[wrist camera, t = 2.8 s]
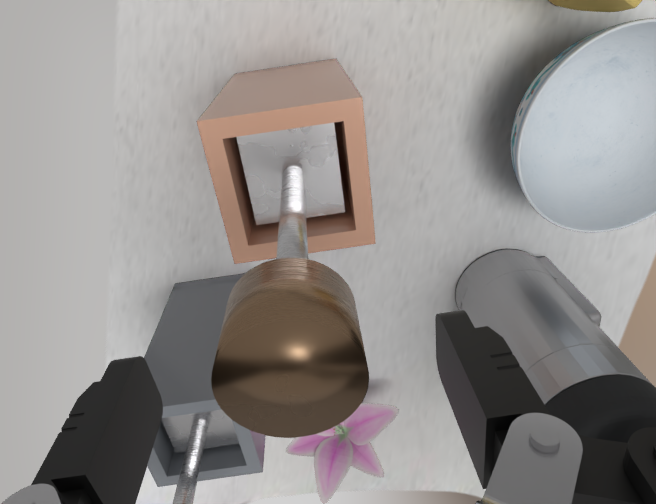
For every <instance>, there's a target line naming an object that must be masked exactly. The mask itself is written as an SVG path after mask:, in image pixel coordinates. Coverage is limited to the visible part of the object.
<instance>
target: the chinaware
mask: <svg viewBox="0 0 656 504" xmlns="http://www.w3.org/2000/svg"><path fill="white" fill-rule="evenodd" d="M511 158H512V164H513V168H514V172H515V175H516V178H517V181H518V184H519V186H520V188H521V190H522V192H523V194H524V196H525V197H526V199H527V200H528V202H529V203H530V205H531V206H532V207H533V208H534V209H535V210H536V211H537V212H538V213H539V214H540V215H541V216H542V217H543V218H545V219H546V220H548V221H549V222H551V223H553V224H555V225H557V226H559V227H562V228H565V229H568V230H572V231H577V232H589V233H594V232H606V231H612V230H616V229H620V228H624V227H627V226H630V225H633V224H635V223H638V222H640V221H642V220H644V219H647V218H648V217H650V216H652V215H654V214H656V18H649V19H641V20H635V21H630V22H626V23H622V24H618V25H615V26H612V27H609V28H606V29H603V30H601V31H599V32H596V33H594V34H592V35H590V36H588V37H586V38H584V39H582V40H580V41H578V42H576V43H575V44H573V45H572V46H570V47H569V48H567V49H566V50H564V51H563V52H562V53H560V54H559V55H558V56H557V57H555V58H554V59H553V60H552V61H551V62H550V63H549V64H548V65H547V66H546V67H545V68H544V69H543V70H542V71H541V72H540V73H539V74H538V76H537V77H536V78H535V79H534V81H533V82H532V83H531V85H530V86H529V88H528V90H527V91H526V93H525V95H524V96H523V98H522V100H521V103H520V105H519V107H518V110H517V112H516V115H515V119H514V123H513V127H512V134H511Z"/></svg>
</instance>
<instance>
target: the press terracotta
mask: <svg viewBox="0 0 656 504" xmlns="http://www.w3.org/2000/svg"><path fill="white" fill-rule="evenodd" d="M327 123H334V125H335V133H336V141H337V150H338V158H339V166H340V174H341V182H342V190H343V198H344V206H345V212H343V213H336V214H329V215H323V216H316V217H309V218H306V222H307V242H308V253H314V252H320V251H327V250H334V249H341V248H348V247H355V246H362V245H369V244H376V243H375V232H374V221H373V210H372V199H371V188H370V177H369V166H368V155H367V144H366V133H365V122H364V111H363V100H362V96H361V94H360V93H359V92H358V90H357V89H356V87H355V86H354V84H353V83H352V81H351V80H350V78H349V77H348V75H347V74H346V72H345V71H344V69H343V68H342V66H341V65H340V63H339V62H338V60H337V59H330V60H323V61H316V62H310V63H303V64H296V65H289V66H283V67H276V68H269V69H263V70H256V71H249V72H242V73H236V74H234V75H233V77H232V78H231V79H230V80H229V82H228V83H227V84H226V85H225V87H224V88H223V89H222V90H221V92H220V93H219V94H218V95H217V97H216V98H215V99H214V100H213V102H212V103H211V104H210V105H209V107H208V108H207V109H206V110H205V112H204V113H203V114H202V115H201V117H200V118H199V119H198V120H197V125H198V128H199V132H200V136H201V140H202V143H203V147H204V151H205V155H206V158H207V162H208V166H209V170H210V173H211V177H212V181H213V185H214V188H215V192H216V196H217V200H218V203H219V207H220V211H221V215H222V218H223V222H224V226H225V230H226V233H227V237H228V241H229V245H230V248H231V252H232V256H233V260H234V263H235V264H238V263H245V262H251V261H258V260H265V259H272V258H276V257H277V243H278V229H279V222H274V223H268V224H261V225H256V221H255V217H254V212H253V208H252V204H251V199H250V195H249V191H248V186H247V182H246V178H245V173H244V169H243V164H242V160H241V156H240V151H239V147H238V143H237V138H236V137H239V136H245V135H252V134H259V133H266V132H273V131H279V130H286V129H293V128H300V127H307V126H313V125H320V124H327Z"/></svg>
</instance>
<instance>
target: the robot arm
mask: <svg viewBox="0 0 656 504" xmlns="http://www.w3.org/2000/svg"><path fill="white" fill-rule="evenodd" d="M455 296H456V303H457V305H458V308H459V310H460V311H454V312H447V313H440V314H437V315H436V358H437V366H438V371H439V375H440V378H441V381H442V384H443V386H444V389H445V392H446V394H447V397H448V399H449V402H450V405H451V407H452V410H453V412H454V415H455V417H456V420H457V423H458V425H459V428H460V430H461V433H462V436H463V438H464V441H465V443H466V446H467V449H468V451H469V454H470V456H471V459H472V462H473V464H474V467H475V469H476V472H477V475H478V477H479V480H480V482H481V485H482V488H483V489H486V491H485V494H484V496H483V498H482V500H481V501H477V502H476V503H475V504H656V388H655V387H654V386H653V385H652V384H651V383H650V382H649V380H648V379H647V378H646V377H645V376H644V375H643V374H642V373H641V372H640V371H639V370H638V369H637V367H636V366H635V365H634V364H633V363H632V362H631V361H630V360H629V359H628V358H627V357H626V355H624V354H623V353H622V351H621V350H620V349H619V348H618V347H617V346H616V345H615V344H614V343H613V342H612V340H611V339H610V338H609V337H608V336H607V335H606V334H605V333H604V332H603V331H602V330H601V328H600V327H599V326H600V321H601V314H600V312H599V311H598V310H597V309H596V308H595V307H594V306H593V305H592V304H591V303H590V301H589V300H588V299H587V298H586V297H585V296H584V295H583V294H582V293H581V292H580V291H579V290H578V289H577V288H576V287H575V286H574V285H573V284H572V283H571V282H570V281H569V280H568V279H567V278H566V277H565V276H564V275H563V274H562V273H561V272H560V271H559V270H558V268H557V267H556V266H555V265H554V264H553V263H552V262H551V261H550V260H549V259H548V258H547V257H534V256H532V255H530V254H528V253H526V252H523V251H520V250H510V249H507V250H499V251H495V252H492V253H489V254H487V255H485V256H483V257H481V258H479V259H478V260H476V261H475V262H474V263H472V264H471V265H470V266H469V267H468V268H467V269H466V270H465V271H464V273H463V275H462V276H461V278H460V279H459V282H458V284H457V287H456V295H455ZM162 415H163V404H162V398H161V395H160V393H159V390H158V388H157V386H156V383H155V381H154V379H153V376H152V374H151V372H150V369H149V367H148V365H147V362H146V360H145V359H144V358H143V357H141V356H139V357H132V358H125V359H118V360H113V361H111V362H110V364H109V365H108V367H107V369H106V371H105V373H104V375H103V377H102V379H101V381H100V382H94V383H93V384H92V385H91V386H90V387H89V388H88V389H87V390H86V391H85V392H84V393H83V394H82V395H81V396H80V397H79V398H78V399H77V401H76V403H75V405H74V407H73V408H72V411H71V412H70V414H69V418H67V420H66V421H65V423H64V425H63V427H62V432H60V433H59V434H58V436H57V438H56V440H55V442H54V444H53V446H52V447H51V449H50V451H49V453H48V455H47V457H46V458H45V460H44V462H43V464H42V466H41V468H40V470H39V471H38V473H37V475H36V477H35V479H34V481H33V483H32V484H31V486H28V487H26V488H23V489H21V490H19V491H18V492H16V493H15V494H13V495H11V496H10V497H9V498H8V499H6V500H5V501H4V502H3V503H2V504H135V503H136V500H137V496H138V493H139V490H140V487H141V484H142V480H143V477H144V474H145V471H146V468H147V465H148V461H149V458H150V455H151V452H152V449H153V445H154V442H155V439H156V436H157V433H158V430H159V426H160V423H161V420H162Z"/></svg>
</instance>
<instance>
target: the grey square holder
mask: <svg viewBox="0 0 656 504" xmlns="http://www.w3.org/2000/svg"><path fill="white" fill-rule="evenodd" d="M245 274H246V273H245ZM243 275H244V274H238V275H231V276H224V277H217V278H211V279H204V280H197V281H190V282H183V283H176V284H175V285H174V288H173V290H172V293H171V295H170V297H169V300H168V302H167V304H166V307H165V309H164V312H163V314H162V316H161V319H160V321H159V323H158V326H157V328H156V331H155V333H154V335H153V338H152V340H151V343H150V345H149V347H148V350H147V352H146V354H145V357H144V359H145V360H146V362H147V365H148V367H149V369H150V372H151V374H152V376H153V379H154V381H155V383H156V386H157V388H158V390H159V393H160V395H161V398H162V404H163V415H162V418H165V417H172V416H179V415H186V414H193V413H200V412H207V411H214V410H221V408H220V406H219V405H218V403H217V402H216V399H215V397H214V395H213V391H212V385H211V376H212V369H213V365H214V360H215V356H216V351H217V347H218V342H219V338H220V333H221V329H222V324H223V320H224V315H225V311H226V306H227V302H228V299H229V295H230V293H231V291H232V289H233V287H234V286H235V284H236V283H237V281H238V280H239V279H240V278H241V277H242V276H243ZM231 420H232V419H231ZM232 423H233V426H234V429H235V432H236V435H237V438H238V441H239V444H234V445H227V446H219V447H212V448H205V449H204V450H203V455H202V460H201V465H200V470H199V475H198V480H197V481H203V480H210V479H217V478H224V477H231V476H239V475H246V474H253V473H260V472H263V462H264V448H265V435H263V434H260V433H256V432H254V431H251V430H249V429H246V428H245V427H243V426H241V425H239V424H238V423H236V422H235V421H233V420H232ZM184 455H185V451H184V452H177V453H176V452H175V450H174V447H173V445H172V443H171V441H170V438H169V436H168V434H167V431H166V429H165V427H164V425H163V422H162V420H161V423H160V426H159V430H158V433H157V436H156V439H155V442H154V445H153V449H152V452H151V455H150V458H149V461H148V465H147V466H148V468H149V470H150V472H151V474H152V476H153V478H154V480H155V482H156V484H157V486H158V487H160V486H168V485H175V484H178V480H179V476H180V472H181V467H182V463H183V459H184Z"/></svg>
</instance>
